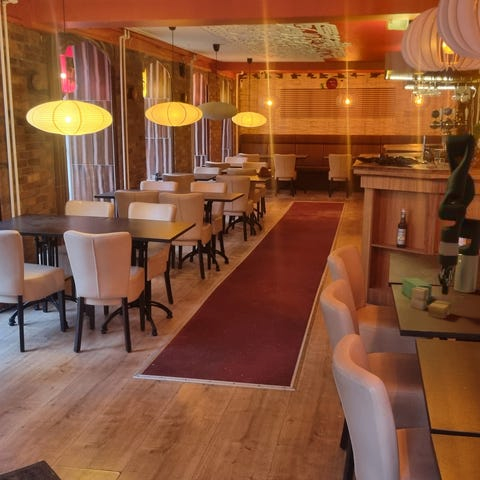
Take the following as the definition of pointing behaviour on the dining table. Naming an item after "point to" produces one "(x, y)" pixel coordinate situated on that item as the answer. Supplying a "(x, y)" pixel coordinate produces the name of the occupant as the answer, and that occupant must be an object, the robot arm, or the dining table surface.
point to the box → (412, 283)
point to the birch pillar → (419, 298)
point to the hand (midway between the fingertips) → (444, 294)
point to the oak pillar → (439, 309)
